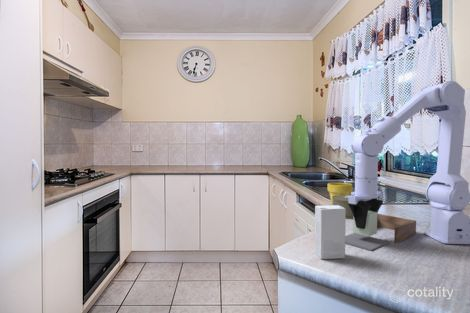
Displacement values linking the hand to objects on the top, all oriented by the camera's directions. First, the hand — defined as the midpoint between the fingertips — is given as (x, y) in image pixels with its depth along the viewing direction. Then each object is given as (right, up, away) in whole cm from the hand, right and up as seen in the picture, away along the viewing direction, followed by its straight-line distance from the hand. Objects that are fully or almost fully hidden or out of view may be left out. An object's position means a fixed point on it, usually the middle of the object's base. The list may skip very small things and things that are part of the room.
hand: (365, 226), depth 81 cm
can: (+7, -3, +29) cm, 30 cm away
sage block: (0, -2, 0) cm, 2 cm away
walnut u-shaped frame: (+9, -4, +7) cm, 12 cm away
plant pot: (+10, -2, +47) cm, 48 cm away
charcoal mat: (-1, -4, -1) cm, 4 cm away
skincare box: (-14, -5, -11) cm, 18 cm away
